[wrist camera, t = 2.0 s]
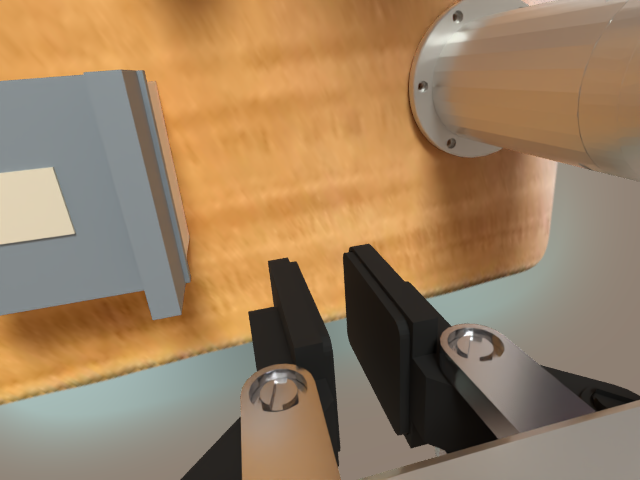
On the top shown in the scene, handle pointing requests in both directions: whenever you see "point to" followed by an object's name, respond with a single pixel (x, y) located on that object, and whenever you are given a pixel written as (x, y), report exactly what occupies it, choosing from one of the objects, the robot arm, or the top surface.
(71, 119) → the mailer lid
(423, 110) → the robot arm
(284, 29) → the top surface
